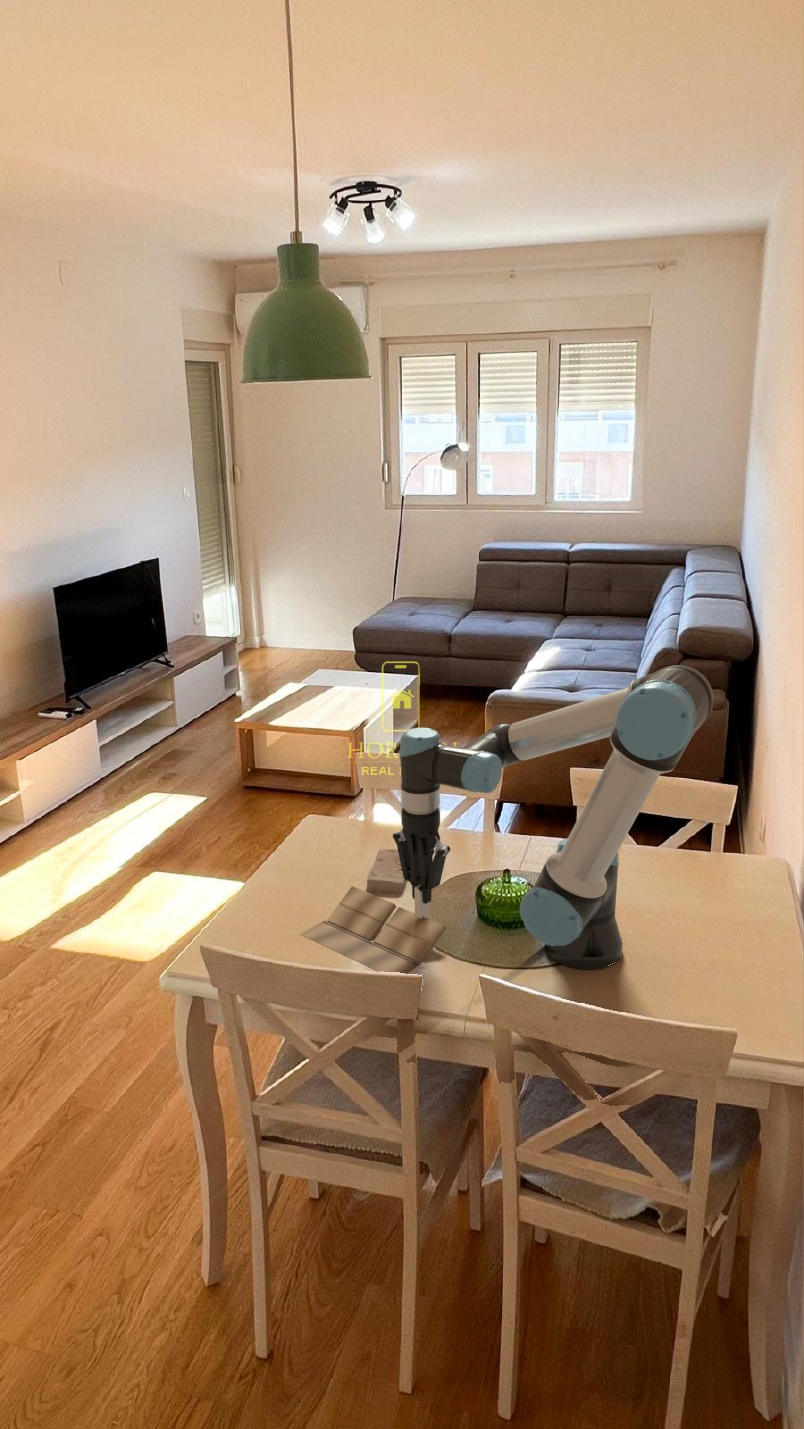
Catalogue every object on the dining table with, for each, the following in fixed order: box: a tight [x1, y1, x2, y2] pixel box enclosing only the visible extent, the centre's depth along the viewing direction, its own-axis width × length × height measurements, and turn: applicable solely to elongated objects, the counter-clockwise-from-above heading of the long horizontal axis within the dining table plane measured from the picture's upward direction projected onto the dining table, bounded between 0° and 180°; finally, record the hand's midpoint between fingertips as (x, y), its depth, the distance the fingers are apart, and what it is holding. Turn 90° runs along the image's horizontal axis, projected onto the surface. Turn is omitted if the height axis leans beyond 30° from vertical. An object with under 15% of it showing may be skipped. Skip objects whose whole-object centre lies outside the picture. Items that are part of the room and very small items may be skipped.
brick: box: [366, 848, 409, 894], centre depth 226 cm, size 17×8×5 cm, turn 171°
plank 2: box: [373, 906, 447, 963], centre depth 197 cm, size 12×9×1 cm
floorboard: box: [299, 920, 422, 974], centre depth 196 cm, size 26×7×2 cm, turn 49°
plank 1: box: [327, 885, 397, 941], centre depth 205 cm, size 12×9×1 cm
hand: (422, 914), depth 199 cm, fingers closed
